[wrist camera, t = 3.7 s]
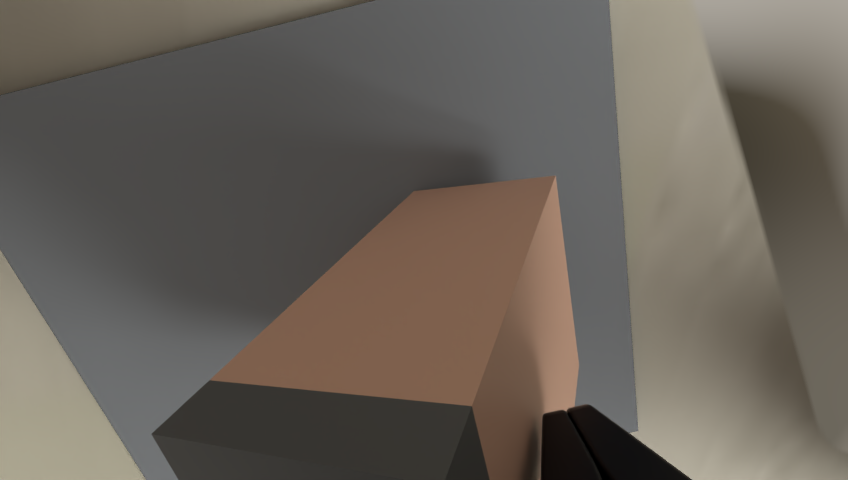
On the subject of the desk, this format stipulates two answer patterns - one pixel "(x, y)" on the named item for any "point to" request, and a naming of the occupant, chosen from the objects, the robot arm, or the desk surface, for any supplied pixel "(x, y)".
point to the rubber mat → (301, 183)
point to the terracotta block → (403, 354)
